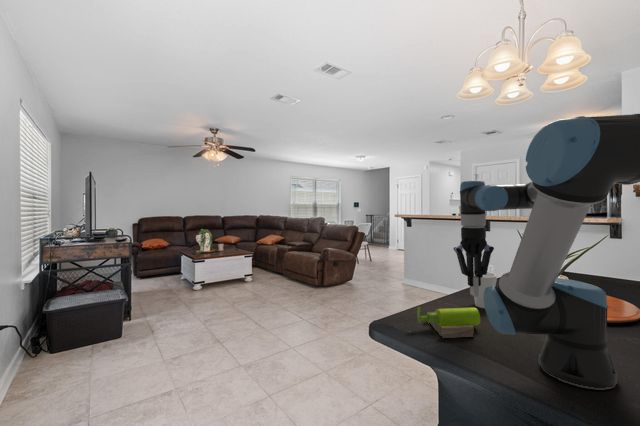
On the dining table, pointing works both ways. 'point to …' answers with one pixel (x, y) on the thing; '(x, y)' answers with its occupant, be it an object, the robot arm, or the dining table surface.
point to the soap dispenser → (451, 316)
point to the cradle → (457, 329)
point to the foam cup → (486, 282)
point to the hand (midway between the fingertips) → (474, 295)
